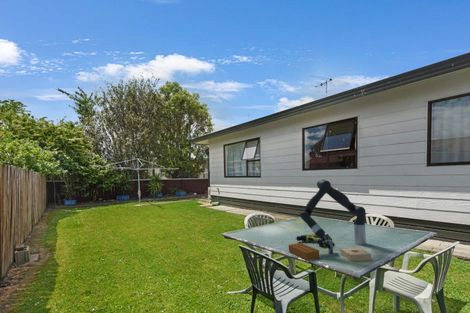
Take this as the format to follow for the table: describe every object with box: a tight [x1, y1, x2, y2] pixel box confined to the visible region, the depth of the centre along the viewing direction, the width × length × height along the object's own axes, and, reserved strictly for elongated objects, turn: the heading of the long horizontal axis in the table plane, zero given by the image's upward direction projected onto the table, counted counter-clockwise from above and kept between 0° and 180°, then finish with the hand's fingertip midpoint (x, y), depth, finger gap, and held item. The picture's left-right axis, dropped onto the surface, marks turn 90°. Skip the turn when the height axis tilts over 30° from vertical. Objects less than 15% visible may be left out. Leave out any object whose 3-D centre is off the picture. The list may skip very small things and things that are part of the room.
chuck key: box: [327, 239, 334, 255], centre depth 223 cm, size 4×4×10 cm
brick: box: [288, 242, 320, 261], centre depth 222 cm, size 25×12×6 cm, turn 21°
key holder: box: [340, 247, 372, 262], centre depth 210 cm, size 16×16×4 cm
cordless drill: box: [294, 233, 328, 247], centre depth 252 cm, size 7×25×25 cm
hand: (332, 246), depth 222 cm, fingers open, 8 cm apart
